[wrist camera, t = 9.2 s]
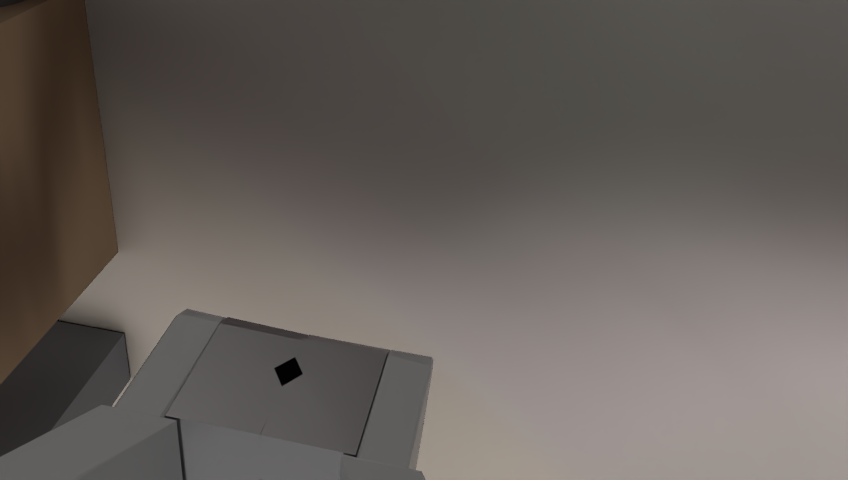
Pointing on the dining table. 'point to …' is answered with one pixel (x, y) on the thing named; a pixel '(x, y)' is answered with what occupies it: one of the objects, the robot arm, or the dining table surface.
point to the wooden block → (48, 171)
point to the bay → (61, 381)
